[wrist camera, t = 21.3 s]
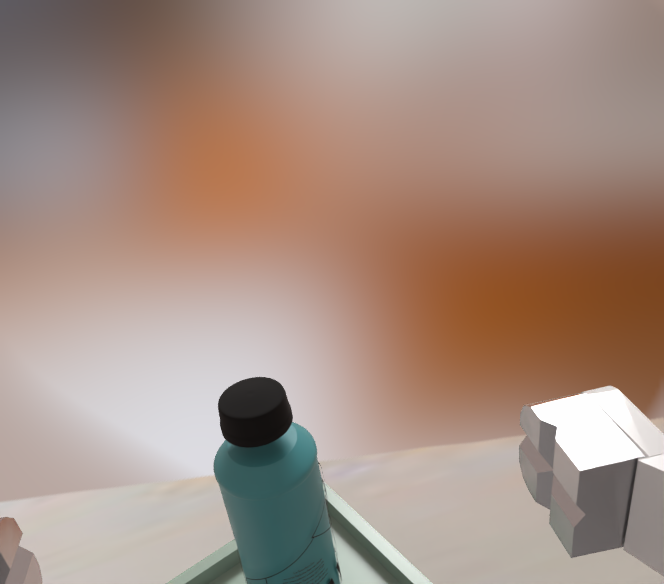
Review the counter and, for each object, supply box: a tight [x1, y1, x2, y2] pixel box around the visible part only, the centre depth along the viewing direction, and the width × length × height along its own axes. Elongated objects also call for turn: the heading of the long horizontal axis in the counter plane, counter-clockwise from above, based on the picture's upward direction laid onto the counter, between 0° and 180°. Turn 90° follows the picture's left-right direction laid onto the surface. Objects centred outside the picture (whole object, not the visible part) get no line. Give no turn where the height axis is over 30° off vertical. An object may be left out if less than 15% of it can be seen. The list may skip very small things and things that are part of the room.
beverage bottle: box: [214, 377, 342, 584], centre depth 38 cm, size 6×7×20 cm
